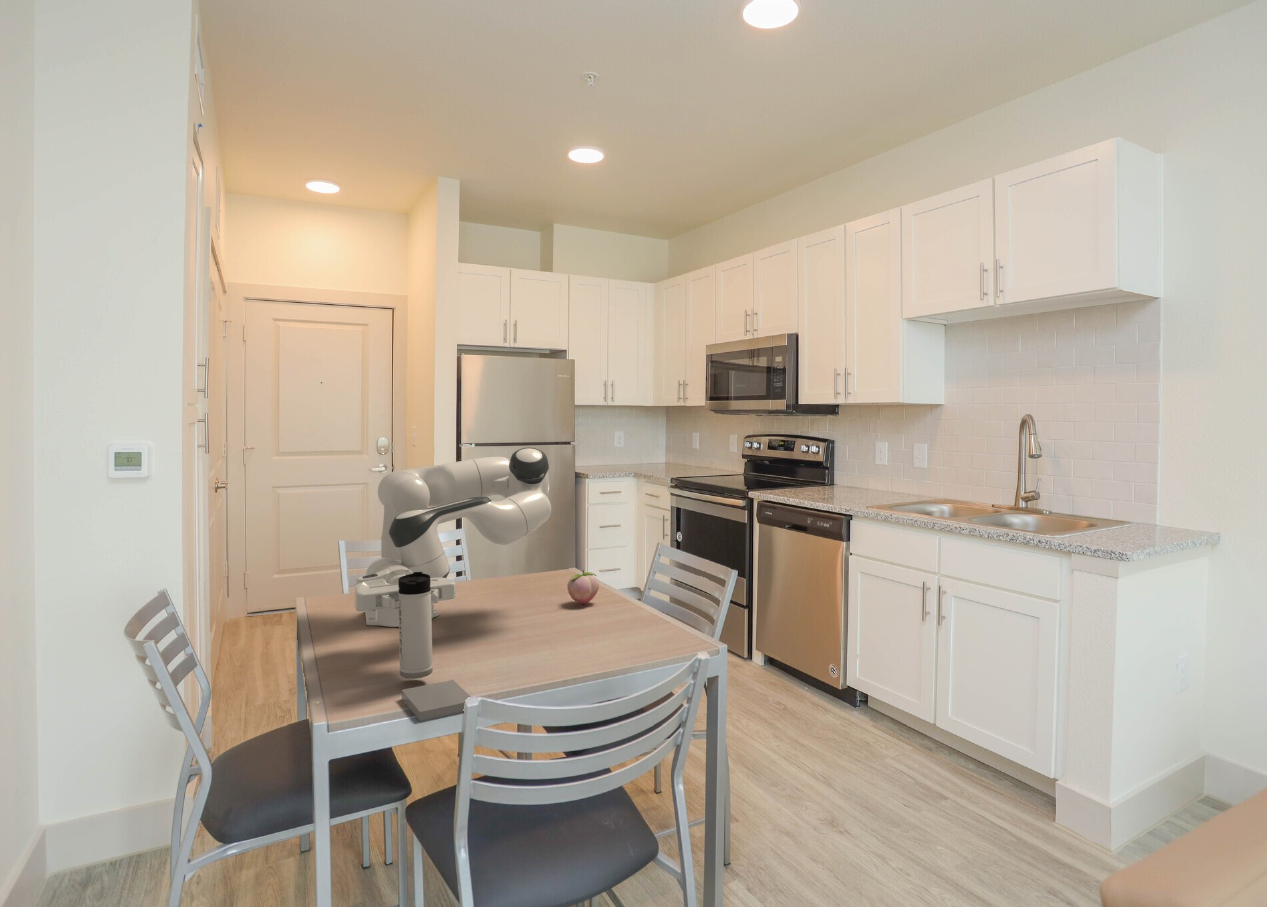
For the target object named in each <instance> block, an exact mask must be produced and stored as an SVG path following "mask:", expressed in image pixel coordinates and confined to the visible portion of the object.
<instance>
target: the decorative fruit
mask: <svg viewBox="0 0 1267 907" xmlns="http://www.w3.org/2000/svg"><path fill="white" fill-rule="evenodd" d="M584 571H585V570H584V569H582V573H577V574H574V575H573V576H571V577H570V579H568V582H567V592H568V594H569V596H570V598H571V599H572V600H574V601H575V602H576V603H578V604H581V605H585V604H587V603H589V602H590V601H592V599H594V598H595V596H596V595H597V594H598V591H599V588H600V583H599V581H598V579H597V578H596V577H597V574H596V573H594V572H591V571H586V572H584Z"/></svg>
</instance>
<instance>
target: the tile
mask: <svg viewBox="0 0 1267 907" xmlns="http://www.w3.org/2000/svg"><path fill="white" fill-rule="evenodd" d="M468 697H472V696H471V695H470V694H469V693H468V692H467V691H466V690H465V689H463V688H462V687H461V685H459V683H457V682H456V681H455V680H454V679H450V680H445V681H440V682H435V683H431V684H425V685H419V686H415V687H410V688H404V689H401V700H402V699H403V700H402V702H405V703H406V704H405V703H404V704H405V705H406V707H408V709H409V708H410V709H411V710H410V709H409V710H410V712H412V713H413V715H414V716H415V717H416V718H417V720H418V721H419V722H421V723H422V722H425V721H430V720H436V719H440V718H445V717H448V716H454V715H458V714H463V713H464V712H463V709H464V703H465V700H466V699H467V698H468Z"/></svg>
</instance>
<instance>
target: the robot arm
mask: <svg viewBox="0 0 1267 907" xmlns="http://www.w3.org/2000/svg"><path fill="white" fill-rule="evenodd" d="M549 466H550V465H549V460H548V457H547V455H546V453H545V452H543V451H542V450H541V449H538V448H535V447H522V448H519V449H517V450H515V451H514V452H513V453H512V454H511V456H510V459H509V458H508V457H504V456H486V457H485V456H483V457H477V458H470V459H469V458H468V459H466V460H465V459H464V460H461V461H459V460H458V461H454V462H449V463H444V464H436V465H429V466H422V467H415V468H408V469H401V470H396V471H392V472H389V473H388V474H386V475H385V476H383V477H382V479H381V480H380V482H379V485H378V488H377V496H378V499H379V501H380V504H382V506H383V521H382V522H383V523H382V531H381V538H380V540H381V541H380V542H381V544H380V546H381V547H380V549H381V550H380V553H381V554H380V558H377V559H375V560H374V561H372V562H371V563H370V564H369V565H368V567H367V570H366V572H365V575H363V576H359V577H357V578H356V581H355V582H356V583H355V587H354V604H355V609H356V612H364V614H365V616H364V617H365V624H366V626H382V627H389V628H390V627H391V628H397V627H398V628H399V608H400V605H399V604H400V600H399V599H398V596H399V595H398V592H399V587H398V579H399V578H400V577H402V576H404V575H408V574H413V572H422V573H424V574H428V575H430V584H431V585H430V587H431V619H433V618H436V617H438V616H440V611H439V610H437V609H435V606H434V605H435V604H439V602H441V601H443V602H444V601H450V600H453V599H455V598H456V597H457V584H456V581H454V580H452V579H449V578H447V577H448V576H449V575H450V571H451V567H450V564H449V561H448V558H447V554H446V552H445V550H444V548H443V545H442V543H441V539H440V537H439V536H440V535H439V534H438V526H439V525H440V524H441V525H442V524H444V523H447V522H448V523H449V522H450V521H451V522H452V521H454V520H458V519H462V518H466V519H467V520H468V521H469V522H470V523H472V524H473V527H475V528H476V530H477V531H478V532H479V533H480V534H481V536H483V537H484V538H485V539H487V541H489V542H491V543H492V544H495V545H500V546H507V545H510V544H513V543H515V542H517V541H520V540H522V539H523V538H525V537H526V536H528V535H530V534H531V533H533V532H534V531H536V530H537V529H538V528H540V527H541V526H542V525H543V524H545V522H547V521H548V520H549V519H550V517H551V515H552V514H551V513H552V504H551V502H550V498H549V496H550V495H549V494H550V478H549V477H550V476H549ZM492 496H501V497H504V498H503V499H501V500H496V501H495V500H492V499H491V498H490V497H492Z"/></svg>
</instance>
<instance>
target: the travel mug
mask: <svg viewBox="0 0 1267 907" xmlns="http://www.w3.org/2000/svg"><path fill="white" fill-rule="evenodd" d="M430 585H431V584H430V575H428V574H424V573H422V572H413V574H408V575H404V576H402V577H400V578H399V579H398V587H399V592H398V595H399V596H398V599H399V600H400V604H399V605H400V608H399V627H398V635H399V637H398V640H399V675H400V677H402V678H403V679H406V680H407V679H408V680H411V679H413V680H414V679H421V678H425V677H428V676H430V675H431V674H432V673H433V633H432V632H433V628H432V626H433V625H432V624H433V623H432V619H433V618H432V619H431V587H430Z"/></svg>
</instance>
